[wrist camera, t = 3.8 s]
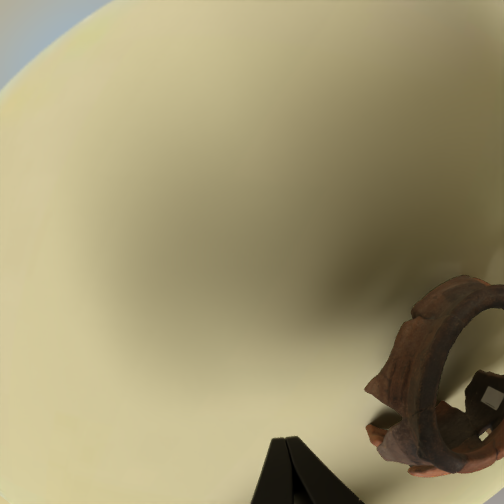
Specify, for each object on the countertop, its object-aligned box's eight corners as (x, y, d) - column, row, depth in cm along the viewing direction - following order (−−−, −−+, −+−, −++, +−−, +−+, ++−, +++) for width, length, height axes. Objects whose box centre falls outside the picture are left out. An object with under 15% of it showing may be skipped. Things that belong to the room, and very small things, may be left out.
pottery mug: (310, 432, 14) (348, 500, 6) (363, 274, 17) (434, 218, 9) (467, 455, 13) (546, 485, 5) (505, 324, 15) (591, 304, 7)
